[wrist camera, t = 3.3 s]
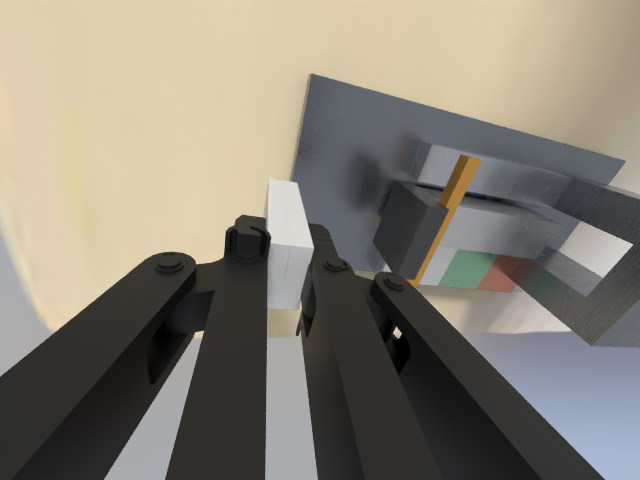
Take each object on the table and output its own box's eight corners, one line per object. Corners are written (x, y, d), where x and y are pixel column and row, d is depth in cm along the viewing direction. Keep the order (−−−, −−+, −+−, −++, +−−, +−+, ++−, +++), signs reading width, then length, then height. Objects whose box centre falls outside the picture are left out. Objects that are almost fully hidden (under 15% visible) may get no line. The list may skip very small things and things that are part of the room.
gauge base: (309, 73, 16) (353, 65, 7) (612, 158, 22) (822, 205, 14) (277, 255, 22) (280, 364, 13) (522, 280, 28) (630, 365, 20)
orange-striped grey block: (394, 134, 17) (449, 157, 12) (550, 171, 20) (648, 203, 15) (354, 252, 21) (381, 308, 16) (488, 267, 24) (548, 318, 19)
